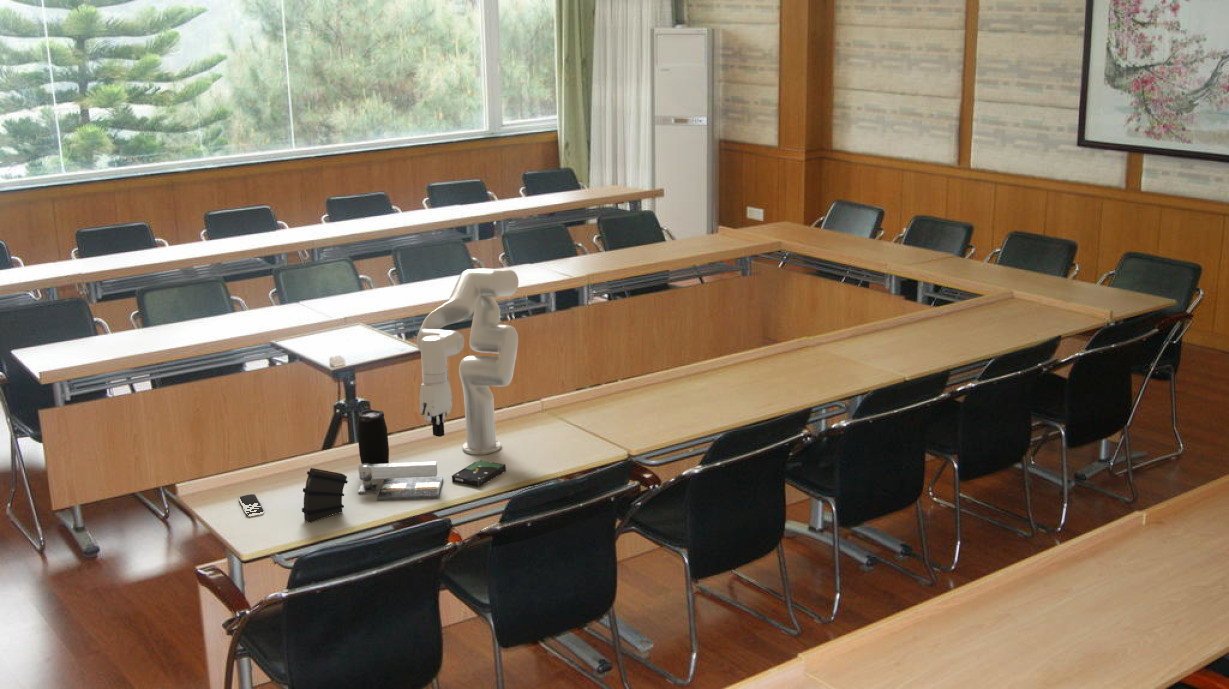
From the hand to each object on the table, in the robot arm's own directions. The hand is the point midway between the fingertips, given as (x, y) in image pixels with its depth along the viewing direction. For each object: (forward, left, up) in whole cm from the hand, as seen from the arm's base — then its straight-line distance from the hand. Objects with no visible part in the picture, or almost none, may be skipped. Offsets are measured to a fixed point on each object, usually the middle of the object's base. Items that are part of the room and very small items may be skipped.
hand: (438, 435), depth 362 cm
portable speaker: (-12, -22, -16) cm, 30 cm away
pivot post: (+3, -22, -16) cm, 27 cm away
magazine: (+20, -31, -16) cm, 40 cm away
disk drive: (-5, +11, -16) cm, 20 cm away
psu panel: (+4, -9, -16) cm, 19 cm away
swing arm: (+3, -13, -11) cm, 17 cm away
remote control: (+12, -55, -16) cm, 59 cm away
